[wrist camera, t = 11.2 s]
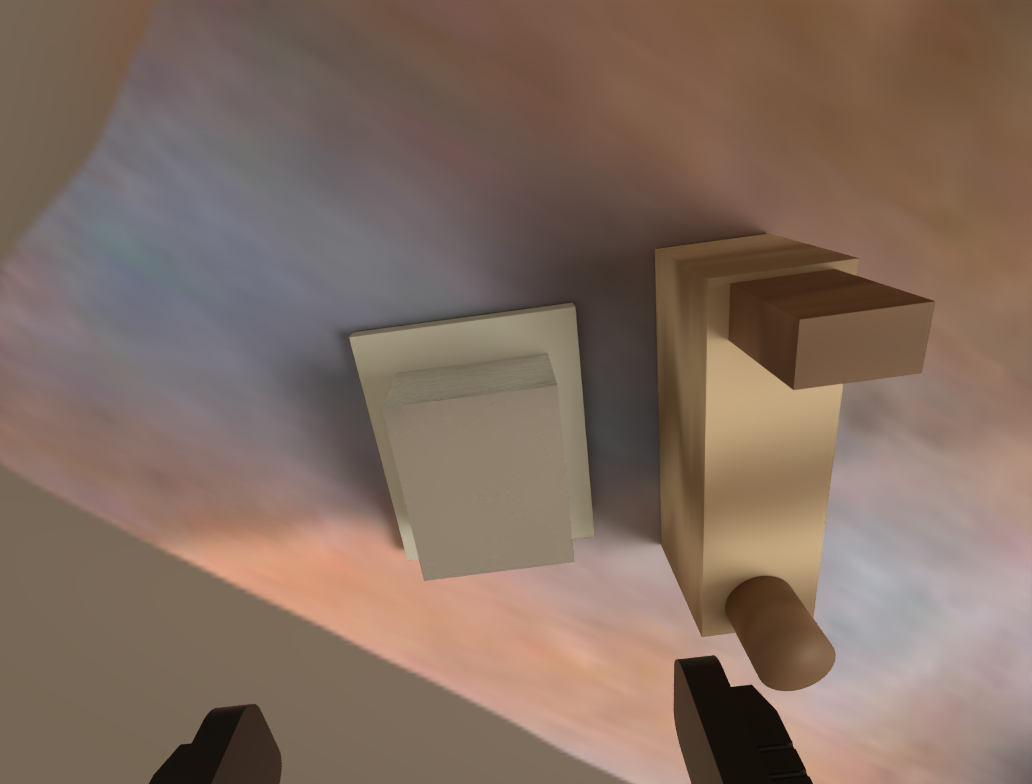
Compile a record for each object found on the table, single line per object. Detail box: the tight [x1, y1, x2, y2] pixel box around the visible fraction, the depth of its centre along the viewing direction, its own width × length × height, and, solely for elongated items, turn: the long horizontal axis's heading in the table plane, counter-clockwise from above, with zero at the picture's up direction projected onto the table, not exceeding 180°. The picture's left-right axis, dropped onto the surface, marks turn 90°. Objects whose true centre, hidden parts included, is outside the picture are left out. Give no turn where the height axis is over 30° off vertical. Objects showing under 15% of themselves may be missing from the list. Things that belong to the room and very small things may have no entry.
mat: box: [349, 303, 595, 561], centre depth 21 cm, size 10×8×1 cm
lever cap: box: [382, 353, 574, 581], centre depth 20 cm, size 7×6×3 cm
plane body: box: [655, 234, 935, 691], centre depth 18 cm, size 13×4×8 cm, turn 7°
